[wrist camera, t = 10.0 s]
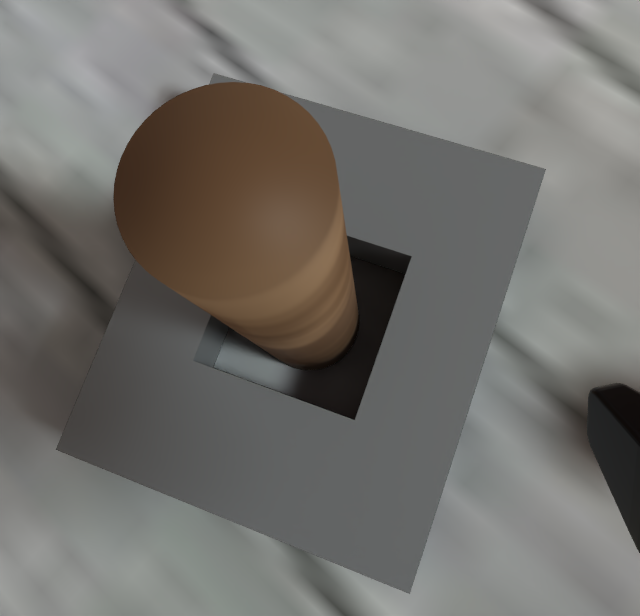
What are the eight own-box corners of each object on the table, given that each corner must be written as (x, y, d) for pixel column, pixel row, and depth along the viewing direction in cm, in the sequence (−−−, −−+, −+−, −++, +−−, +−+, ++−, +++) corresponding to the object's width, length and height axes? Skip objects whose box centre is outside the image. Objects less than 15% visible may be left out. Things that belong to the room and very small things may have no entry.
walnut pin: (363, 366, 22) (346, 287, 9) (264, 374, 22) (113, 308, 9) (355, 269, 23) (329, 69, 10) (259, 278, 23) (112, 95, 10)
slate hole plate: (405, 573, 20) (409, 593, 18) (91, 446, 22) (55, 449, 20) (527, 197, 22) (545, 169, 20) (230, 108, 24) (213, 73, 22)
